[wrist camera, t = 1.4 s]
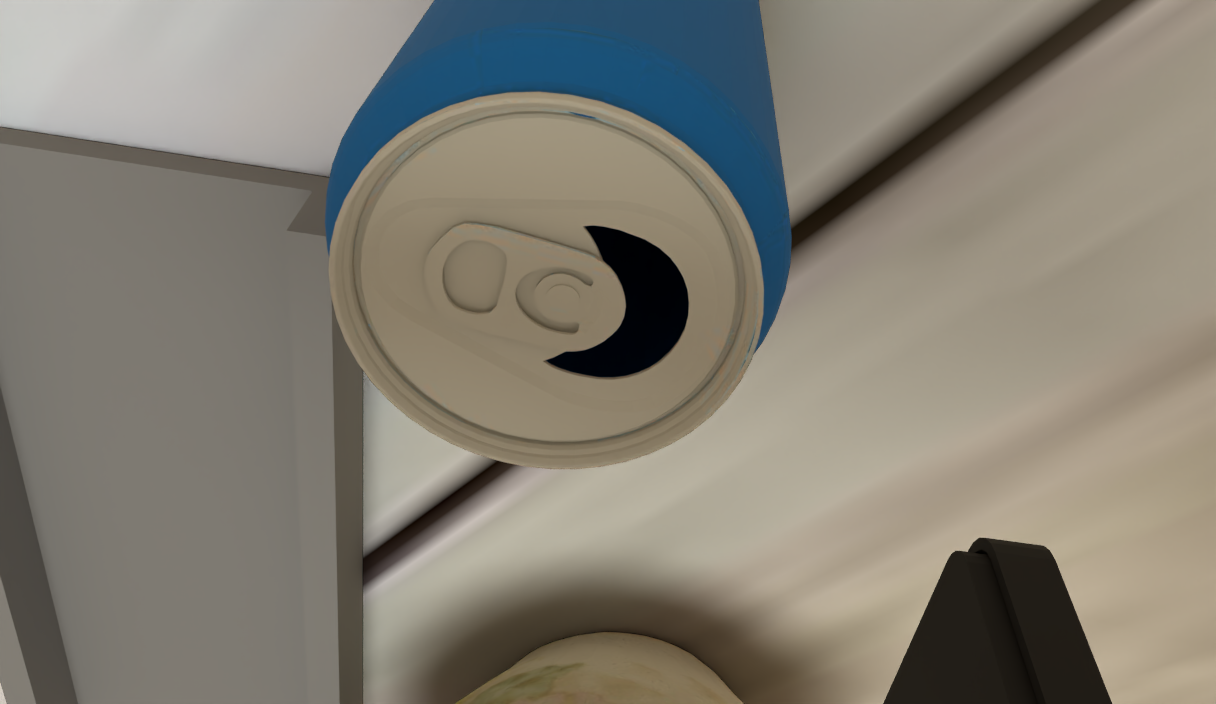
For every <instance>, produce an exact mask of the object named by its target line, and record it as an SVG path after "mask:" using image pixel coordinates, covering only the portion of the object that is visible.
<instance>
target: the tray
mask: <svg viewBox="0 0 1216 704" xmlns="http://www.w3.org/2000/svg"><path fill="white" fill-rule="evenodd" d="M328 183H329V178H328V177H322V176H315V175H309V174H302V173H296V172H289V171H283V170H276V169H270V168H263V167H257V166H250V165H244V164H237V163H230V162H224V161H217V160H211V159H204V158H198V157H191V156H185V155H178V154H172V153H165V152H159V151H152V150H146V149H139V148H132V147H126V146H119V145H113V144H106V143H100V142H93V141H87V140H80V139H74V138H67V137H61V136H54V135H48V134H41V133H34V132H28V131H21V130H15V129H8V128H2V127H0V683H1V686H2V689H3V693H4V696H5V699H6V702H7V704H363V369H362V368H361V367H360V365H359V364H358V363H357V361H356V359H355V357H354V355H353V354H352V352H351V350H350V348H349V346H348V345H347V343H346V341H345V339H344V336H343V334H342V331H341V328H340V326H339V323H338V321H337V318H336V314H335V310H334V306H333V302H332V298H331V292H330V281H329V255H328V250H327V241H326V230H325V210H326V194H327V188H328Z"/></svg>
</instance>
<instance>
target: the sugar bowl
mask: <svg viewBox="0 0 1216 704" xmlns="http://www.w3.org/2000/svg"><path fill="white" fill-rule="evenodd" d="M455 704H744V703H743V702H742V701H741V700H740V699H738V698H737V697H736V696H735V695H734V694H733V692H732V691H731V690H730V689H729V688H728V687H727V686H726V684H725V683H724V682H723V681H722V680H721V679H720V678H719V677H718V676H717V675H716V674H715V672H713V671H712V670H711V669H710V668H709V667H707V666H706V665H705V664H703V663H702V662H701V661H700V660H698V659H697V658H696V657H694V656H693V655H692V654H690V653H689V652H687V651H685V650H683V649H681V648H679V647H677V646H674V645H672V644H669V643H667V642H664V641H662V640H658V639H655V638H651V637H648V636H643V635H636V634H629V633H618V632H600V633H592V634H584V635H577V636H573V637H569V638H565V639H562V640H558V641H554V642H552V643H549V644H547V645H544V646H541V647H539V648H537V649H536V650H534V651H532V652H531V653H529V654H528V655H526V656H525V657H524V658H522V659H521V660H520V661H519V662H517V663H516V664H515V665H514V666H512V667H511V668H510V669H508V670H506V671H505V672H503V673H502V674H500V675H498V676H497V677H495V678H493V679H492V680H490V681H488V682H487V683H485V684H484V685H482V686H481V687H479V688H478V689H476V690H475V691H473V692H472V693H470V694H468V695H467V696H465V697H464V698H462V699H461V700H459V701H458V702H456V703H455Z"/></svg>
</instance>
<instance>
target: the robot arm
mask: <svg viewBox="0 0 1216 704" xmlns="http://www.w3.org/2000/svg"><path fill="white" fill-rule="evenodd" d="M883 704H1112V702H1111V700H1110V697H1109V695H1108V692H1107V690H1106V687H1105V684H1104V682H1103V679H1102V677H1101V674H1100V672H1099V669H1098V667H1097V664H1096V662H1095V659H1094V657H1093V654H1092V652H1091V649H1090V647H1089V644H1088V642H1087V639H1086V636H1085V634H1084V631H1083V629H1082V626H1081V624H1080V621H1079V619H1078V616H1077V614H1076V611H1075V609H1074V606H1073V604H1072V601H1071V599H1070V596H1069V594H1068V591H1067V588H1066V586H1065V583H1064V581H1063V578H1062V576H1061V573H1060V571H1059V568H1058V566H1057V563H1056V561H1055V559H1054V557H1053V555H1052V553H1051V552H1050V550H1048V549H1047V548H1046V547H1044V546H1041V545H1033V544H1026V543H1019V542H1011V541H1004V540H996V539H989V538H979V539H977V540H976V541H975V542H973V544H972V546H971V547H970V549H969V550H968V552H963V551H955V552H953V553H952V554H951V556H950V557H949V559H948V561H947V563H946V565H945V567H944V570H943V572H942V574H941V576H940V579H939V581H938V583H937V585H936V587H935V590H934V592H933V594H932V596H931V599H930V601H929V603H928V605H927V607H926V610H925V612H924V614H923V616H922V619H921V621H920V623H919V625H918V628H917V630H916V632H915V634H914V636H913V639H912V641H911V643H910V645H909V648H908V650H907V652H906V654H905V656H904V659H903V661H902V663H901V665H900V668H899V670H898V672H897V674H896V677H895V679H894V681H893V683H892V685H891V688H890V690H889V692H888V694H887V697H886V699H885V701H884V703H883Z"/></svg>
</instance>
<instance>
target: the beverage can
mask: <svg viewBox="0 0 1216 704" xmlns="http://www.w3.org/2000/svg"><path fill="white" fill-rule="evenodd" d="M325 230H326V241H327V250H328V255H329V281H330V292H331V298H332V302H333V306H334V310H335V314H336V318H337V321H338V323H339V326H340V328H341V331H342V334H343V336H344V339H345V341H346V343H347V345H348V346H349V348H350V350H351V352H352V354H353V355H354V357H355V359H356V361H357V363H358V364H359V365H360V367H361V368H362V369H363V371H364V372H365V373H366V375H367V376H368V378H369V379H370V380H371V382H372V383H373V384H374V385H375V386H376V387H377V388H378V389H379V390H380V391H381V393H382V394H383V395H384V396H385V397H386V398H387V399H388V400H389V401H390V402H391V403H392V404H394V405H395V406H396V407H397V408H398V409H399V410H401V411H402V412H403V413H404V414H405V415H406V416H408V417H409V418H410V419H412V420H413V421H415V422H416V423H418V424H419V425H420V426H422V427H423V428H425V429H426V430H428V431H429V432H431V433H433V434H435V435H437V436H438V437H440V438H442V439H444V440H446V441H448V442H449V443H451V444H454V445H456V446H458V447H461V448H463V449H465V450H468V451H470V452H473V453H475V454H478V455H481V456H485V457H488V458H491V459H494V460H498V461H501V462H506V463H511V464H516V465H521V466H527V467H536V468H546V469H582V468H592V467H601V466H606V465H611V464H616V463H621V462H626V461H629V460H632V459H635V458H638V457H641V456H644V455H647V454H650V453H652V452H654V451H657V450H659V449H661V448H663V447H666V446H668V445H670V444H672V443H674V442H675V441H677V440H678V439H680V438H682V437H683V436H685V435H687V434H688V433H690V432H692V431H693V430H694V429H695V428H697V427H698V426H699V425H701V424H702V423H703V422H704V421H706V420H707V419H708V418H709V417H711V416H712V414H713V413H714V412H715V411H716V410H717V409H718V408H719V407H720V406H721V405H722V404H723V403H724V402H725V401H726V400H727V399H728V397H729V396H730V395H731V393H732V392H733V390H734V389H735V388H736V386H737V385H738V384H739V382H740V381H741V379H742V377H743V375H744V373H745V371H746V369H747V368H748V366H749V364H750V362H751V360H752V357H753V355H754V353H755V352H756V350H757V349H758V348H759V346H760V345H761V344H762V342H763V340H764V339H765V337H766V335H767V333H768V331H769V329H770V327H771V325H772V323H773V322H774V320H775V317H776V314H777V312H778V309H779V306H780V303H781V300H782V298H783V295H784V292H785V289H786V283H787V278H788V273H789V268H790V260H791V237H792V236H791V227H790V218H789V209H788V202H787V195H786V188H785V181H784V174H783V167H782V160H781V153H780V146H779V139H778V132H777V125H776V118H775V111H774V104H773V97H772V90H771V83H770V76H769V69H768V62H767V55H766V48H765V41H764V34H763V27H762V20H761V13H760V6H759V0H434V2H433V3H432V5H431V6H430V8H429V9H428V10H427V12H426V13H425V15H424V16H423V18H422V19H421V21H420V22H419V24H418V25H417V26H416V28H415V29H414V31H413V32H412V34H411V35H410V37H409V38H408V39H407V41H406V42H405V44H404V45H403V47H402V48H401V50H400V51H399V53H398V54H397V55H396V57H395V58H394V60H393V61H392V63H391V64H390V66H389V67H388V68H387V70H386V71H385V73H384V74H383V76H382V77H381V79H380V80H379V82H378V83H377V84H376V86H375V87H374V89H373V90H372V92H371V93H370V95H369V96H368V97H367V99H366V100H365V102H364V103H363V105H362V106H361V108H360V109H359V111H358V112H357V113H356V115H355V117H354V119H353V120H352V122H351V124H350V126H349V127H348V129H347V131H346V133H345V134H344V136H343V138H342V140H341V143H340V146H339V148H338V151H337V154H336V156H335V159H334V161H333V164H332V169H331V173H330V178H329V183H328V188H327V194H326V210H325Z"/></svg>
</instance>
